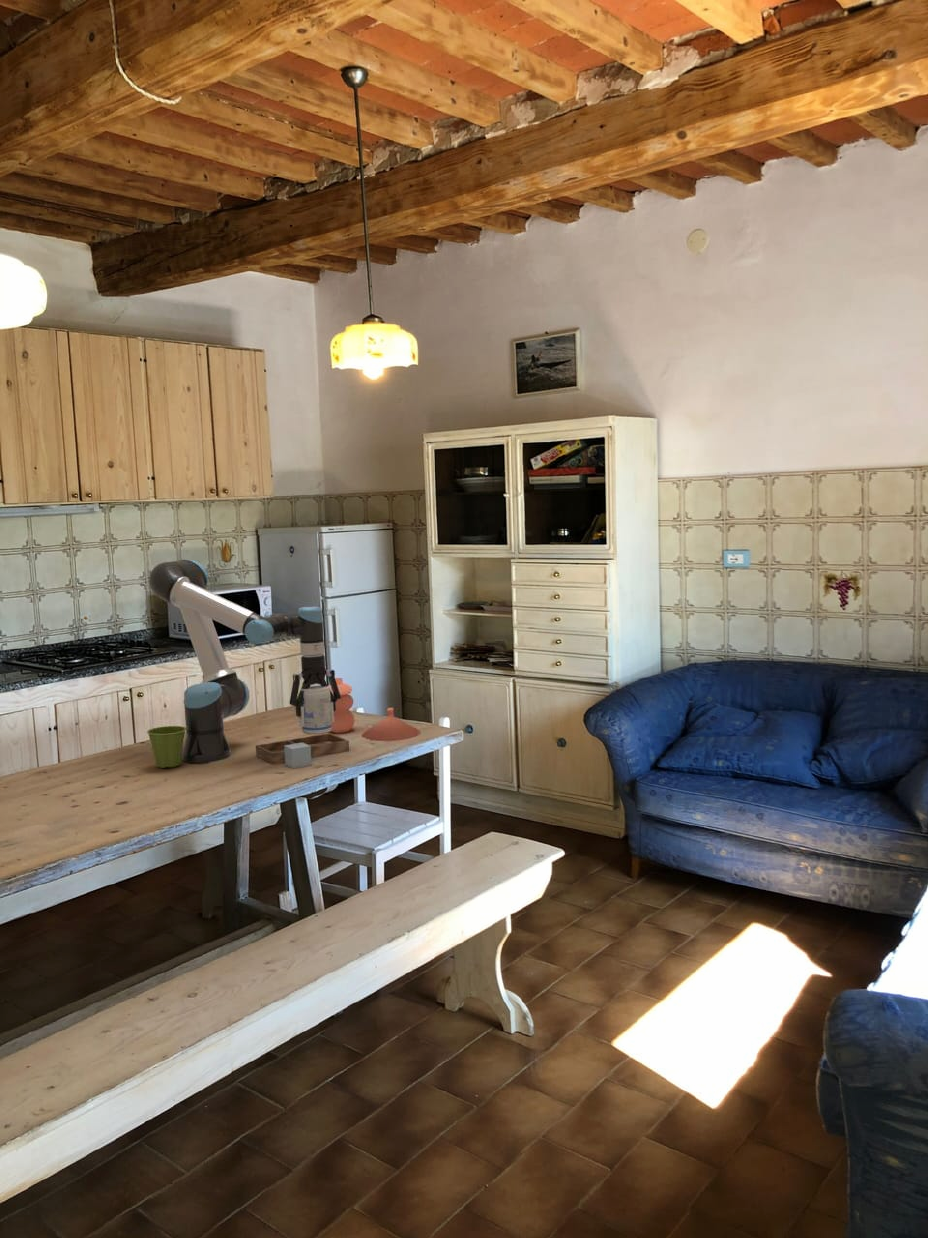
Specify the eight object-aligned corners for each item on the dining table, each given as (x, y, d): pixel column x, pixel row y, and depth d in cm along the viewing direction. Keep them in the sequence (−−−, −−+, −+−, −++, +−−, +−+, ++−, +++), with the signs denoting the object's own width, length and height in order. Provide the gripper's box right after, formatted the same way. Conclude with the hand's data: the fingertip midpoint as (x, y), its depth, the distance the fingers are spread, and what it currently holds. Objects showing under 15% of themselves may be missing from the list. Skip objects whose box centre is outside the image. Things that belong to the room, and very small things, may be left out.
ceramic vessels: (431, 729, 349) (429, 675, 347) (407, 743, 330) (405, 686, 327) (341, 724, 361) (339, 673, 359) (313, 738, 342) (310, 683, 339)
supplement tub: (296, 734, 321) (293, 688, 319) (313, 727, 329) (311, 683, 327) (320, 736, 316) (318, 690, 314) (338, 729, 324) (335, 685, 323)
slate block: (293, 768, 302) (292, 749, 302) (285, 764, 307) (284, 745, 307) (311, 765, 305) (310, 745, 305) (303, 761, 310) (302, 742, 310)
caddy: (273, 764, 308) (272, 753, 307) (256, 755, 319) (255, 745, 319) (349, 750, 322) (348, 740, 321) (330, 742, 333) (329, 733, 333)
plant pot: (177, 770, 304) (175, 734, 303) (141, 770, 306) (139, 734, 305) (195, 760, 316) (193, 725, 314) (161, 760, 318) (158, 725, 317)
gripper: (284, 660, 311) (289, 731, 313) (349, 652, 323) (352, 720, 325) (275, 658, 317) (279, 727, 319) (339, 650, 329) (342, 717, 331)
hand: (316, 723), depth 322 cm, fingers closed on supplement tub, 10 cm apart
